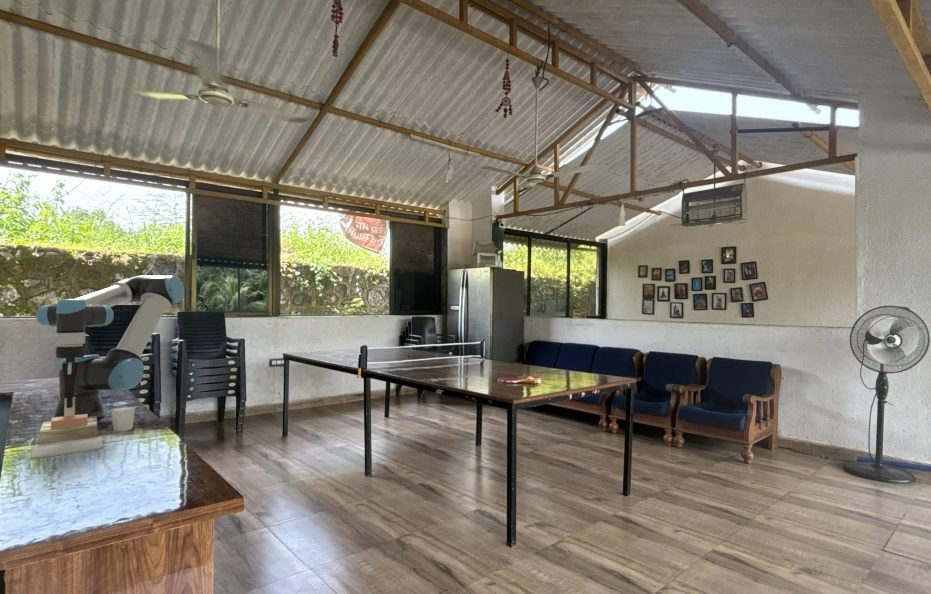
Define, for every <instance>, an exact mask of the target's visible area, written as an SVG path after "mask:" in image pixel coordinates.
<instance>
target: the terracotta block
mask: <svg viewBox="0 0 931 594" xmlns="http://www.w3.org/2000/svg"><path fill="white" fill-rule="evenodd" d="M87 418H88V414H82V415H73V416H64V417H55V418H53V417H52V418H51V420H50V421H51V428H60V427H68V426H77V425H85V424H87Z"/></svg>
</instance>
